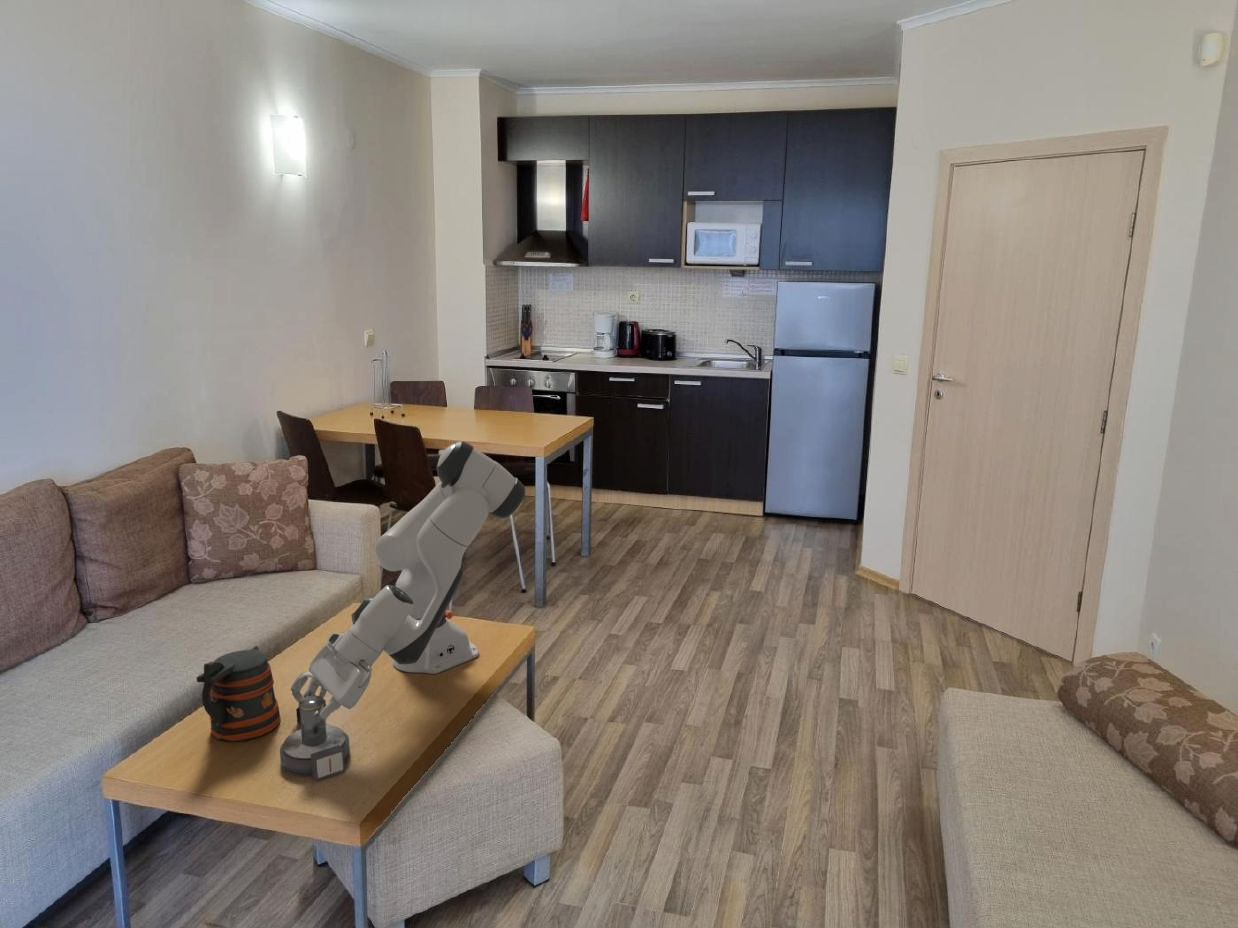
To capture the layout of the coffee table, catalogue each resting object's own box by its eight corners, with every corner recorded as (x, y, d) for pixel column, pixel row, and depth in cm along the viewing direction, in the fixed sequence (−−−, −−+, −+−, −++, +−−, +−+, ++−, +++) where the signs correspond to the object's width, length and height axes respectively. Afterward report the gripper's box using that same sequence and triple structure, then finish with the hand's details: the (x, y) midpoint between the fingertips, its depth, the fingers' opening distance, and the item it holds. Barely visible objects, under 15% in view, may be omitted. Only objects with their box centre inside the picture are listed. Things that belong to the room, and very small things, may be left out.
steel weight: (322, 731, 190) (319, 693, 188) (330, 741, 186) (327, 702, 184) (298, 738, 187) (295, 700, 185) (306, 748, 183) (303, 709, 181)
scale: (336, 733, 197) (335, 713, 196) (364, 765, 185) (362, 744, 183) (272, 753, 189) (270, 732, 188) (296, 788, 176) (294, 766, 175)
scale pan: (333, 722, 196) (333, 719, 195) (354, 746, 186) (354, 743, 186) (275, 740, 188) (275, 736, 188) (294, 766, 178) (293, 762, 178)
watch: (301, 709, 208) (298, 666, 206) (333, 712, 207) (330, 669, 204) (289, 720, 203) (285, 677, 200) (321, 723, 201) (318, 679, 199)
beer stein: (245, 756, 188) (236, 670, 183) (184, 749, 190) (174, 665, 186) (292, 713, 206) (286, 634, 202) (236, 707, 209) (228, 629, 204)
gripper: (385, 677, 183) (342, 734, 179) (349, 644, 199) (309, 696, 195) (363, 663, 179) (319, 721, 176) (328, 630, 195) (287, 683, 191)
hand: (313, 707), depth 185 cm, fingers open, 8 cm apart
